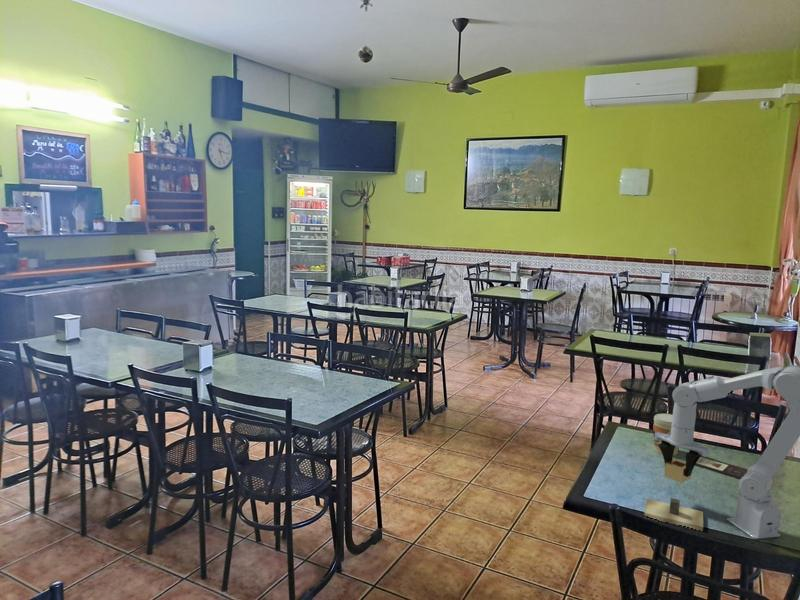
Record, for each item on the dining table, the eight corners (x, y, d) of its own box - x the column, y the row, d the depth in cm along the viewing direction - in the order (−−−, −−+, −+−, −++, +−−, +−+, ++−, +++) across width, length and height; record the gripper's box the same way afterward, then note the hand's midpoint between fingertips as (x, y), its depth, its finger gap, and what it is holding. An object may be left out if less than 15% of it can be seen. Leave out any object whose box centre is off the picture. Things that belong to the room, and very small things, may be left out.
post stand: (702, 515, 157) (704, 500, 156) (702, 531, 149) (704, 515, 148) (646, 502, 163) (648, 487, 163) (644, 517, 155) (645, 501, 155)
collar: (690, 478, 163) (692, 465, 162) (681, 483, 160) (683, 469, 159) (673, 471, 167) (674, 458, 166) (664, 476, 164) (665, 462, 163)
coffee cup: (645, 446, 204) (648, 413, 202) (668, 445, 206) (672, 412, 204) (661, 457, 195) (665, 423, 193) (686, 456, 197) (690, 422, 195)
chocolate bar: (752, 481, 178) (690, 462, 190) (752, 484, 178) (690, 465, 190) (760, 473, 184) (700, 455, 196) (760, 476, 184) (700, 458, 197)
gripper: (716, 430, 158) (711, 477, 160) (665, 415, 169) (660, 459, 171) (704, 436, 154) (699, 484, 156) (652, 420, 165) (647, 465, 167)
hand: (678, 471), depth 163 cm, fingers closed on collar, 5 cm apart
